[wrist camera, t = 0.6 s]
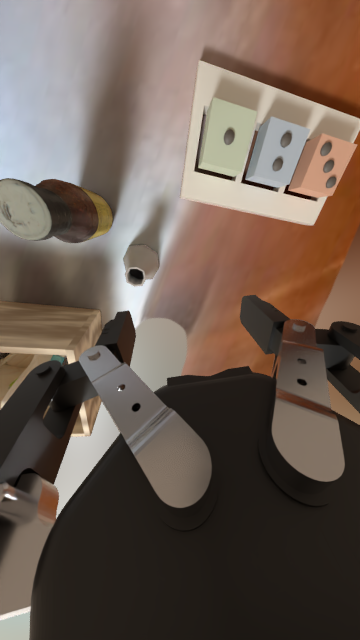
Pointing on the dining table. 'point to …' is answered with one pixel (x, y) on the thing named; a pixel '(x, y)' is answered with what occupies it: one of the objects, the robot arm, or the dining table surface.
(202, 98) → the board
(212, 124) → the tile one
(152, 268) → the flask
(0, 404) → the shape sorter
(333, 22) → the dining table surface
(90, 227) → the sauce bottle
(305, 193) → the tile three
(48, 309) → the woven basket
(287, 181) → the tile two
